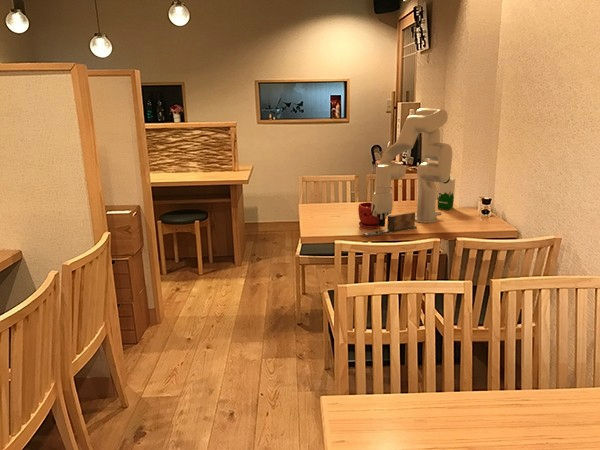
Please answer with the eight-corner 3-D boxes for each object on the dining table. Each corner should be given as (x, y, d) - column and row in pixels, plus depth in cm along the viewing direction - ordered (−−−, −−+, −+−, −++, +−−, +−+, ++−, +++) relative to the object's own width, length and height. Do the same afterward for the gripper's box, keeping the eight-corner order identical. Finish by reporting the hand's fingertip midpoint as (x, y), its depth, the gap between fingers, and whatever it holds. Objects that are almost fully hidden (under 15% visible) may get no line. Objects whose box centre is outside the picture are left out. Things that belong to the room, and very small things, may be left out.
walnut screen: (412, 224, 259) (412, 211, 257) (415, 225, 257) (416, 212, 255) (387, 229, 252) (387, 215, 250) (390, 230, 250) (390, 216, 248)
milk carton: (435, 209, 295) (437, 175, 290) (440, 205, 302) (442, 173, 297) (450, 210, 291) (452, 177, 285) (454, 207, 298) (457, 174, 292)
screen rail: (412, 226, 260) (413, 224, 260) (416, 228, 257) (416, 226, 257) (363, 235, 246) (363, 233, 246) (366, 237, 244) (366, 235, 244)
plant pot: (370, 231, 252) (371, 209, 249) (352, 226, 262) (353, 204, 259) (388, 227, 260) (389, 205, 256) (370, 222, 270) (371, 200, 267)
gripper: (390, 187, 250) (389, 222, 255) (365, 190, 243) (364, 226, 248) (399, 190, 243) (398, 226, 248) (374, 193, 237) (373, 230, 242)
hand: (381, 226), depth 248 cm, fingers closed
